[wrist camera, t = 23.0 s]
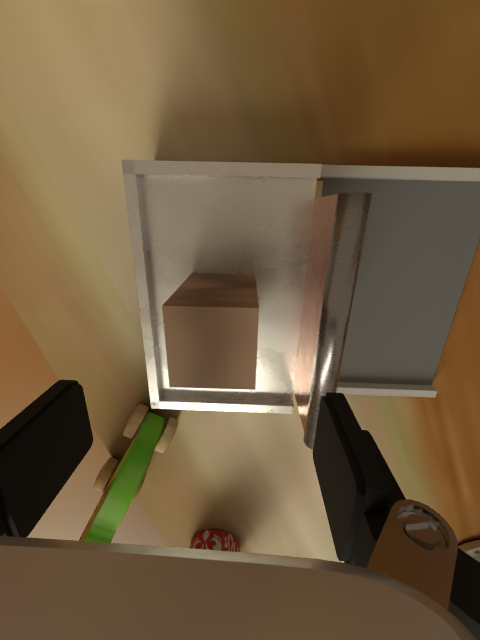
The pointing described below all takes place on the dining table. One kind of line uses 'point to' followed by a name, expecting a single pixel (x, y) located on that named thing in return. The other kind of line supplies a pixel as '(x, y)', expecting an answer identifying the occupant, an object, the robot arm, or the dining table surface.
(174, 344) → the walnut block
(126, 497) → the toy lion
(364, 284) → the grey flat rectangular piece
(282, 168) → the grey l-shaped piece
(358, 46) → the dining table surface
